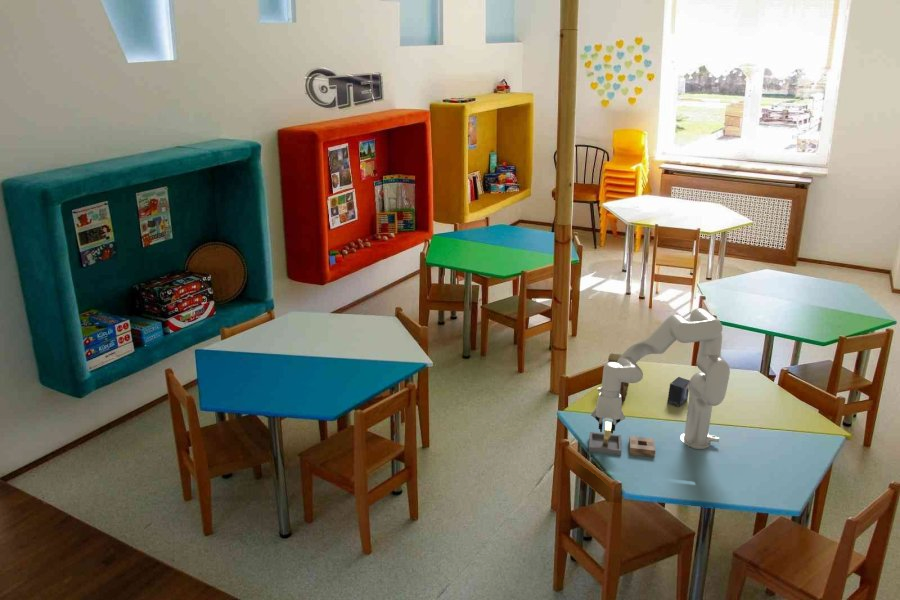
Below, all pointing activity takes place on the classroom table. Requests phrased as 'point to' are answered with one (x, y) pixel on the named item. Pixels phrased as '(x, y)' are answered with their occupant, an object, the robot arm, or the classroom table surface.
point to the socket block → (641, 446)
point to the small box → (678, 391)
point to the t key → (606, 433)
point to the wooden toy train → (623, 384)
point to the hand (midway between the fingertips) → (606, 431)
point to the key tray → (597, 446)
